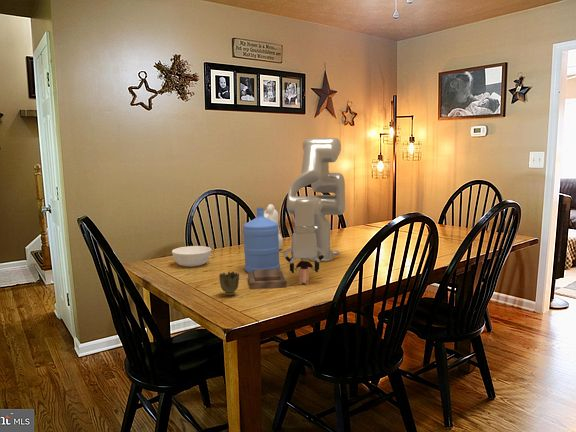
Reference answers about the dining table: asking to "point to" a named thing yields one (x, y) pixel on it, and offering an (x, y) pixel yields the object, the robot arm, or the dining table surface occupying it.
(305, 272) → the grandmother figurine
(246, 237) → the water jug
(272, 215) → the decorative rooster
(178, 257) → the bowl
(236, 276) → the cup
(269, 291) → the dining table surface
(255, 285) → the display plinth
